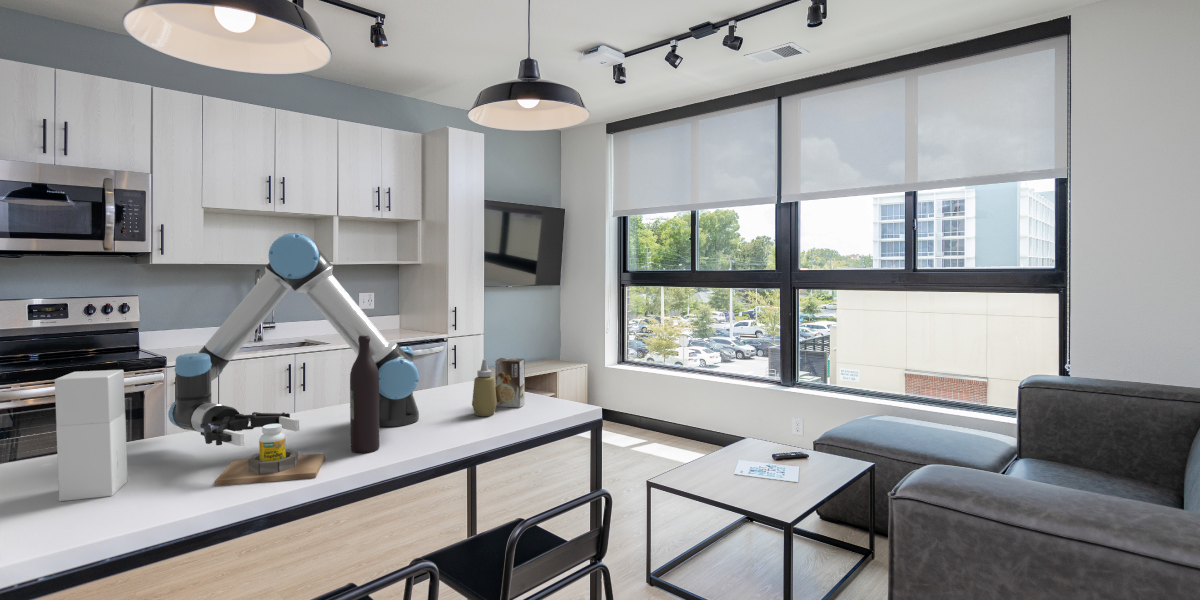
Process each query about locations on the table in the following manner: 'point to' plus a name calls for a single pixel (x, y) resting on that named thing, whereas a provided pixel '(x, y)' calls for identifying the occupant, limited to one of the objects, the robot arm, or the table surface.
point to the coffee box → (510, 382)
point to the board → (271, 469)
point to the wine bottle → (364, 400)
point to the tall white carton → (91, 434)
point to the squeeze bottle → (484, 392)
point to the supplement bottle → (272, 443)
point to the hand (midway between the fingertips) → (271, 432)
